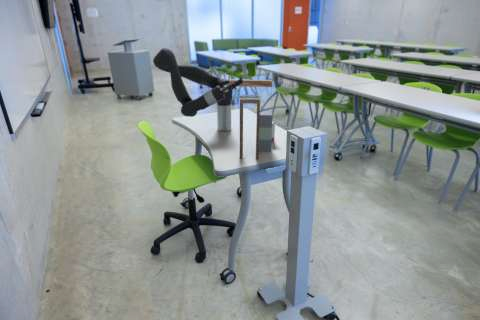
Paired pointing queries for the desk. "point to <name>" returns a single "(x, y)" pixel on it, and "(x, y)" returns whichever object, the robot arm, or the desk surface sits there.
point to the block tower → (265, 131)
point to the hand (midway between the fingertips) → (242, 80)
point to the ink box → (273, 131)
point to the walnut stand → (242, 100)
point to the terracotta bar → (254, 83)
